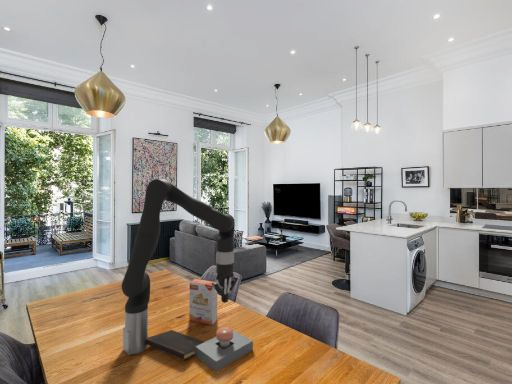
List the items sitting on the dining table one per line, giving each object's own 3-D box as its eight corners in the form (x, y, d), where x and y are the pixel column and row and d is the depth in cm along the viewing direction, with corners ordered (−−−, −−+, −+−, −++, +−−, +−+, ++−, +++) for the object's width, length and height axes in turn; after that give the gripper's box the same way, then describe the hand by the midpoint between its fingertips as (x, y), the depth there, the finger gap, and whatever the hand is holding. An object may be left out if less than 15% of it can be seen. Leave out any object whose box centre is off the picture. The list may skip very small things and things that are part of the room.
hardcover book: (170, 334, 133) (171, 329, 133) (208, 348, 122) (208, 343, 122) (143, 344, 119) (144, 338, 119) (183, 360, 108) (184, 354, 108)
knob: (223, 351, 112) (223, 337, 112) (213, 344, 116) (213, 331, 116) (236, 344, 117) (236, 331, 117) (225, 338, 122) (225, 325, 121)
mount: (216, 371, 105) (216, 361, 104) (195, 356, 114) (195, 346, 114) (252, 349, 119) (252, 340, 119) (231, 337, 129) (231, 329, 129)
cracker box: (188, 321, 144) (188, 281, 144) (195, 316, 150) (195, 278, 150) (211, 326, 139) (212, 285, 139) (217, 320, 145) (217, 281, 145)
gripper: (218, 266, 109) (218, 309, 109) (242, 260, 118) (242, 299, 118) (207, 262, 114) (206, 303, 114) (231, 257, 123) (231, 295, 124)
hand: (225, 301), depth 116 cm, fingers closed
